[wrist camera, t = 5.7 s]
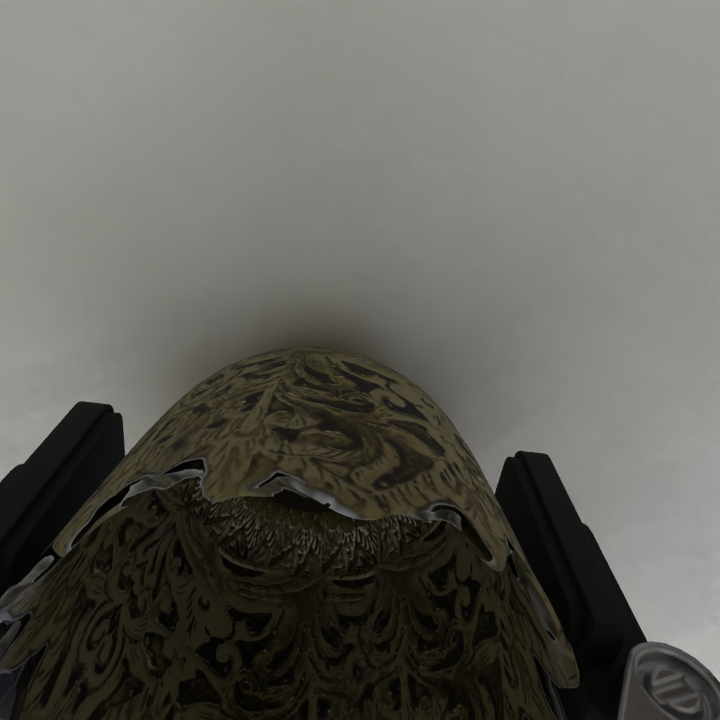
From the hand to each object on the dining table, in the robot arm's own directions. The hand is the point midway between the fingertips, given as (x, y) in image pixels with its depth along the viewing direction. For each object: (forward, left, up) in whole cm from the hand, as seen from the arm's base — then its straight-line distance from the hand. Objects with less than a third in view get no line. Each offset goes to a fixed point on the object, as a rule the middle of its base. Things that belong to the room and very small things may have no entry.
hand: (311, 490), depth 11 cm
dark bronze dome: (0, 0, -3) cm, 3 cm away
